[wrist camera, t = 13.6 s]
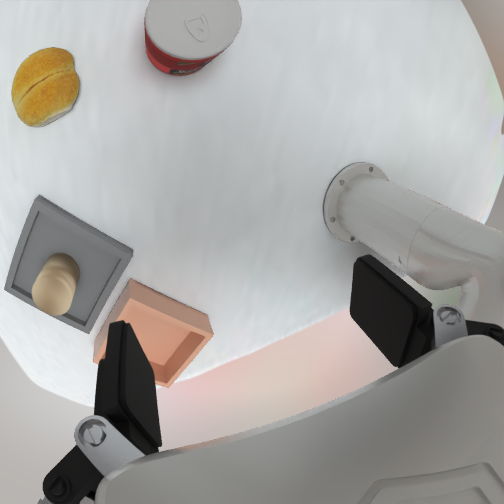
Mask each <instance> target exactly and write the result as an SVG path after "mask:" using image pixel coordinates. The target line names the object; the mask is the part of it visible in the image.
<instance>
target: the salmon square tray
mask: <svg viewBox="0 0 504 504" xmlns="http://www.w3.org/2000/svg"><path fill="white" fill-rule="evenodd" d="M121 320H124V321H125V323H130V324H131V326H132V328H133V330H134V332H135V334H136V337H137V339H138V341H139V343H140V345H141V347H142V349H143V351H144V353H145V355H146V357H147V359H148V361H149V362H150V364H151V366H152V368H153V371H154V375H155V384H157V385H160V386H164V387H167V388H169V387H170V386H171V385H172V384H173V383H174V381H175V380H176V379H177V378H178V377H179V376H180V374H181V373H182V372H183V371H184V370H185V368H186V367H187V366H188V365H189V364H190V363H191V361H192V360H193V359H194V358H195V357H196V355H197V354H198V353H199V352H200V351H201V350H202V348H203V347H204V346H205V345H206V344H207V342H208V341H209V340H210V339H211V338H212V336H213V335H214V333H213V330H212V328H211V325H210V322H209V319H208V316H207V315H206V314H204V313H202V312H200V311H198V310H195V309H193V308H191V307H189V306H187V305H184V304H182V303H180V302H178V301H176V300H174V299H172V298H170V297H167V296H165V295H163V294H161V293H159V292H157V291H155V290H153V289H151V288H149V287H147V286H145V285H143V284H141V283H139V282H137V281H135V280H133V279H130V280H129V282H128V283H127V285H126V287H125V288H124V290H123V292H122V293H121V295H120V297H119V299H118V300H117V302H116V304H115V305H114V307H113V309H112V311H111V312H110V314H109V316H108V318H107V319H106V321H105V323H104V325H103V327H102V329H101V330H100V332H99V334H98V336H97V338H96V340H95V345H94V355H93V362H94V363H97V364H99V361H100V359H105V353H106V344H107V337H108V329H109V324H110V323H112V322H116V321H121Z"/></svg>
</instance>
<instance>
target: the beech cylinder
mask: <svg viewBox="0 0 504 504" xmlns="http://www.w3.org/2000/svg"><path fill="white" fill-rule="evenodd" d="M79 277H80V269H79V266H78V264H77V262H76V261H75V260H74V259H73V258H72V257H71V256H69V255H67V254H65V253H55V254H53V255H51V256H50V257H49V258H48V259H47V261H46V263H45V264H44V266H43V268H42V270H41V272H40V274H39V275H38V277H37V279H36V281H35V283H34V285H33V287H32V297H33V300H34V302H35V304H36V305H37V307H38V308H39V309H40V310H42V311H43V312H45V313H47V314H49V315H54V316H58V315H62V314H64V313H66V312H67V311H68V310H69V308H70V306H71V302H72V299H73V296H74V293H75V289H76V286H77V283H78V280H79Z"/></svg>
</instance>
